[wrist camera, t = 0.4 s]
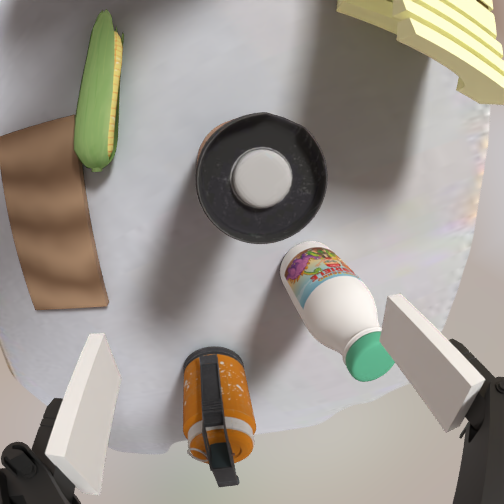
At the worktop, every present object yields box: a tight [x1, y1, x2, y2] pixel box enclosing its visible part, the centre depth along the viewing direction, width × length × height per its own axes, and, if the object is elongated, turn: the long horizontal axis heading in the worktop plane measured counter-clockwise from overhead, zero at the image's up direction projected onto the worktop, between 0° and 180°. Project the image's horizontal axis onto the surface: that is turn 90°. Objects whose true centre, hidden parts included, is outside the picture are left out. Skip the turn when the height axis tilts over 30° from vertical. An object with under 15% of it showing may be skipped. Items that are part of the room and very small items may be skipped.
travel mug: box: [196, 112, 327, 244], centre depth 26 cm, size 8×8×20 cm
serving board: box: [0, 115, 109, 310], centre depth 34 cm, size 24×12×1 cm, turn 3°
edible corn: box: [74, 9, 124, 172], centre depth 28 cm, size 5×20×5 cm
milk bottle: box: [280, 241, 395, 382], centre depth 33 cm, size 8×8×20 cm
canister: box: [183, 347, 256, 487], centre depth 36 cm, size 9×11×20 cm
